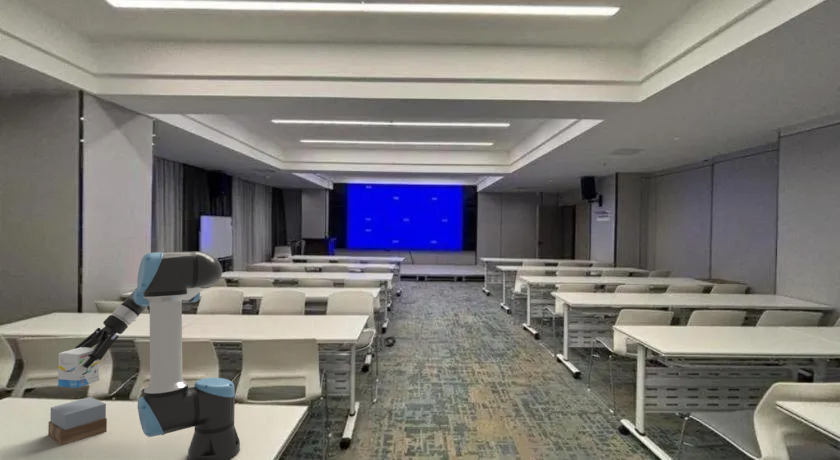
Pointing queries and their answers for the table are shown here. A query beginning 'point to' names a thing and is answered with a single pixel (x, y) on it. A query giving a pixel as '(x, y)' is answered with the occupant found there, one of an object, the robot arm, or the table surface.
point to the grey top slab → (77, 413)
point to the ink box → (71, 362)
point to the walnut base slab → (76, 431)
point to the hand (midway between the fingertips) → (69, 372)
